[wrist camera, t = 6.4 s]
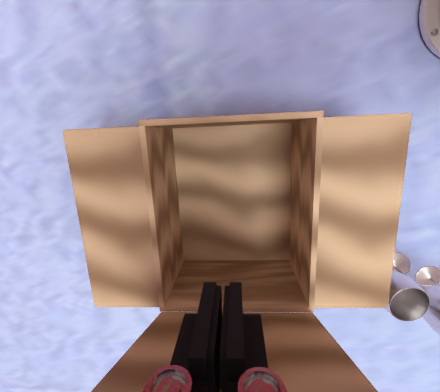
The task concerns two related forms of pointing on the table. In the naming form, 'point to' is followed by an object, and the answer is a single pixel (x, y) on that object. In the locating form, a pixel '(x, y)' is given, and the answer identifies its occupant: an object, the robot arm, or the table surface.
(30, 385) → the table surface
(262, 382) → the robot arm
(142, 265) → the carton
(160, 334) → the lid flap
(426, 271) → the goblet set
